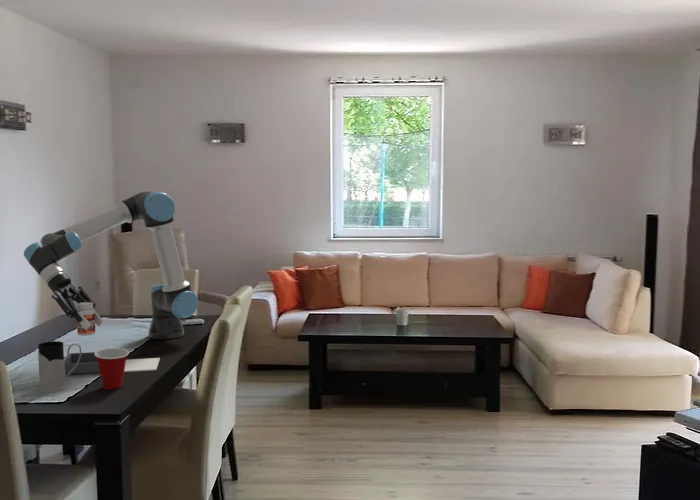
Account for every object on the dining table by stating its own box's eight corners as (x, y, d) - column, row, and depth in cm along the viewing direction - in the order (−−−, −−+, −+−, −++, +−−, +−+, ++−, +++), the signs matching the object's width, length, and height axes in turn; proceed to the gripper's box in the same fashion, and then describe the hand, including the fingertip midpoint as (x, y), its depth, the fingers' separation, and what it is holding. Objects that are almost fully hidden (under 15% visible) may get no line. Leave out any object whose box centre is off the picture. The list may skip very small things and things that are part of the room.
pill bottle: (88, 336, 244) (86, 305, 243) (73, 335, 246) (72, 304, 245) (99, 332, 250) (98, 302, 249) (85, 331, 252) (83, 301, 251)
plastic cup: (110, 394, 219) (108, 357, 218) (88, 388, 225) (87, 353, 223) (137, 385, 228) (136, 350, 227) (115, 380, 234) (114, 346, 233)
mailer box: (159, 359, 262) (159, 348, 262) (156, 370, 246) (155, 359, 246) (70, 363, 256) (70, 353, 255) (61, 375, 240) (60, 364, 240)
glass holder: (34, 388, 225) (32, 344, 224) (77, 379, 235) (75, 337, 234) (44, 394, 219) (42, 348, 218) (87, 385, 229) (86, 341, 227)
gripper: (69, 281, 260) (106, 327, 257) (30, 289, 242) (70, 338, 239) (79, 268, 258) (117, 313, 254) (42, 275, 240) (82, 324, 236)
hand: (94, 325), depth 247 cm, fingers closed on pill bottle, 6 cm apart
